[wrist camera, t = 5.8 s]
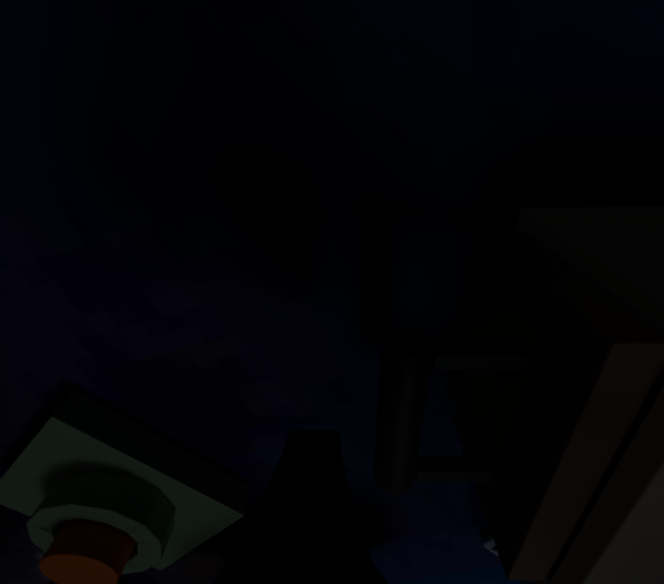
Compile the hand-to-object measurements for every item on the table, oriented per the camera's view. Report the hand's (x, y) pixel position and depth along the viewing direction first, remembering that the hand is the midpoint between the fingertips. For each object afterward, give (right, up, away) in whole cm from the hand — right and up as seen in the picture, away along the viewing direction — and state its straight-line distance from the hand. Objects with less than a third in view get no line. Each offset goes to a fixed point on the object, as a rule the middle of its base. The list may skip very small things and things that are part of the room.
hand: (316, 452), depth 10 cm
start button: (-12, -8, +8) cm, 16 cm away
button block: (-11, -6, +11) cm, 17 cm away
